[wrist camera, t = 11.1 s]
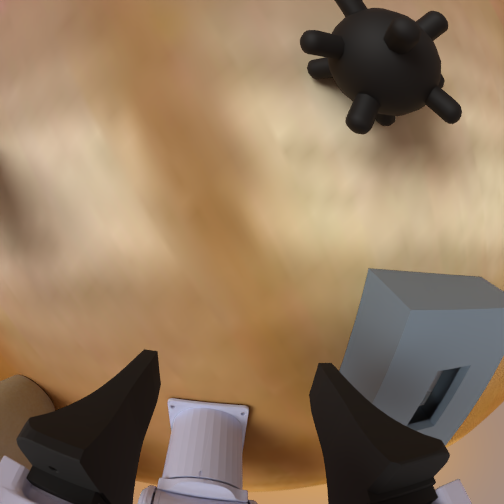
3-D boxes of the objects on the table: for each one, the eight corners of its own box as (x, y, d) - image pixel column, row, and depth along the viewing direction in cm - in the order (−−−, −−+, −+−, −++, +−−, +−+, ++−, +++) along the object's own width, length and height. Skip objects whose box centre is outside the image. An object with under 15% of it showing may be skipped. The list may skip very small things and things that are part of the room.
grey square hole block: (422, 408, 28) (444, 446, 22) (320, 421, 27) (333, 471, 21) (480, 276, 23) (524, 306, 16) (368, 268, 22) (410, 310, 15)
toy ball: (443, 176, 17) (307, 170, 14) (380, 92, 21) (259, 74, 18) (520, 76, 8) (390, -17, 5) (425, 5, 13) (291, -48, 10)
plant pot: (-19, 337, 24) (-86, 406, 9) (62, 370, 25) (-4, 477, 10) (14, 412, 28) (-27, 479, 13) (90, 445, 29) (58, 531, 14)
